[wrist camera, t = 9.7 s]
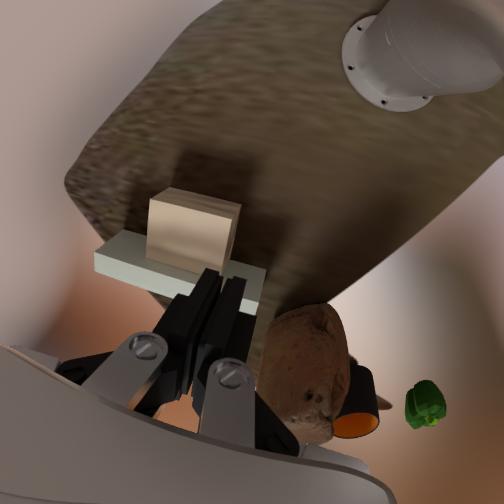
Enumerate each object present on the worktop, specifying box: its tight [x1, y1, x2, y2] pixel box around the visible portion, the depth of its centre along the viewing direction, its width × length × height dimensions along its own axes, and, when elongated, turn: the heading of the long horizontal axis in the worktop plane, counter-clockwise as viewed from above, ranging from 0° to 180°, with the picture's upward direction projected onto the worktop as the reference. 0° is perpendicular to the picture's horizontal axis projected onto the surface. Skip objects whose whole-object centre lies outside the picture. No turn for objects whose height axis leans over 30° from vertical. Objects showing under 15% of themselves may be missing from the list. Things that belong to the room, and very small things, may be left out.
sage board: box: [94, 230, 266, 315], centre depth 40 cm, size 3×22×8 cm, turn 77°
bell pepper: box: [405, 380, 446, 429], centre depth 44 cm, size 8×8×10 cm
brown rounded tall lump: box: [256, 303, 350, 446], centre depth 36 cm, size 11×8×20 cm
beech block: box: [146, 187, 242, 276], centre depth 38 cm, size 8×10×6 cm
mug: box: [333, 365, 380, 439], centre depth 45 cm, size 8×12×10 cm
